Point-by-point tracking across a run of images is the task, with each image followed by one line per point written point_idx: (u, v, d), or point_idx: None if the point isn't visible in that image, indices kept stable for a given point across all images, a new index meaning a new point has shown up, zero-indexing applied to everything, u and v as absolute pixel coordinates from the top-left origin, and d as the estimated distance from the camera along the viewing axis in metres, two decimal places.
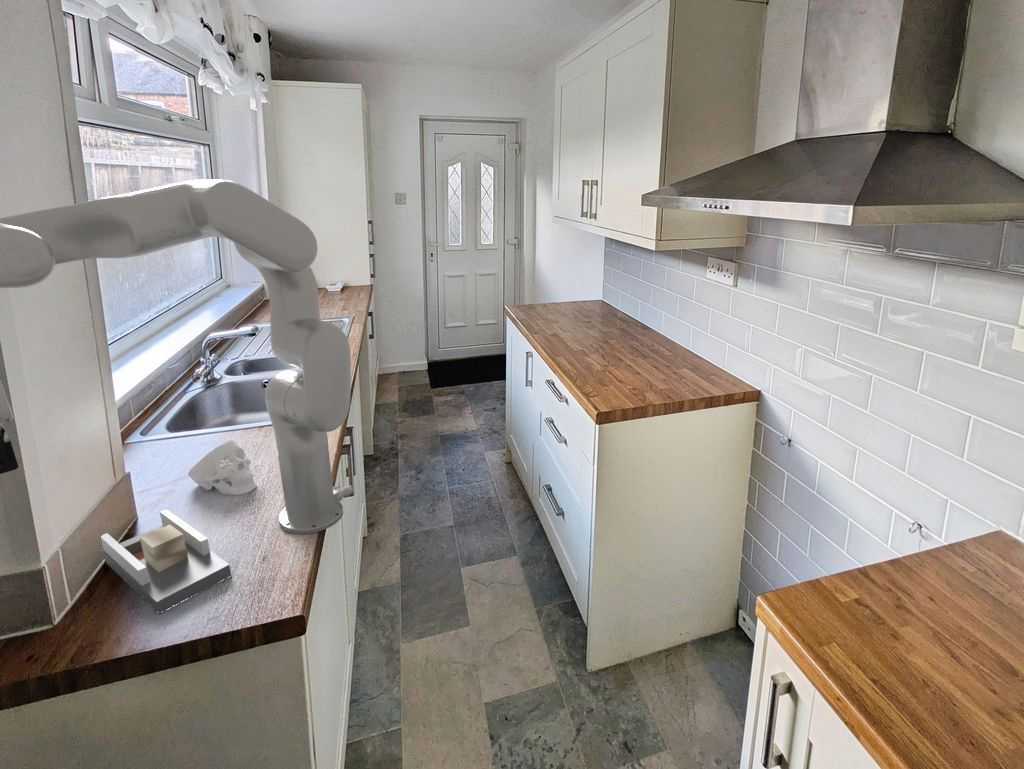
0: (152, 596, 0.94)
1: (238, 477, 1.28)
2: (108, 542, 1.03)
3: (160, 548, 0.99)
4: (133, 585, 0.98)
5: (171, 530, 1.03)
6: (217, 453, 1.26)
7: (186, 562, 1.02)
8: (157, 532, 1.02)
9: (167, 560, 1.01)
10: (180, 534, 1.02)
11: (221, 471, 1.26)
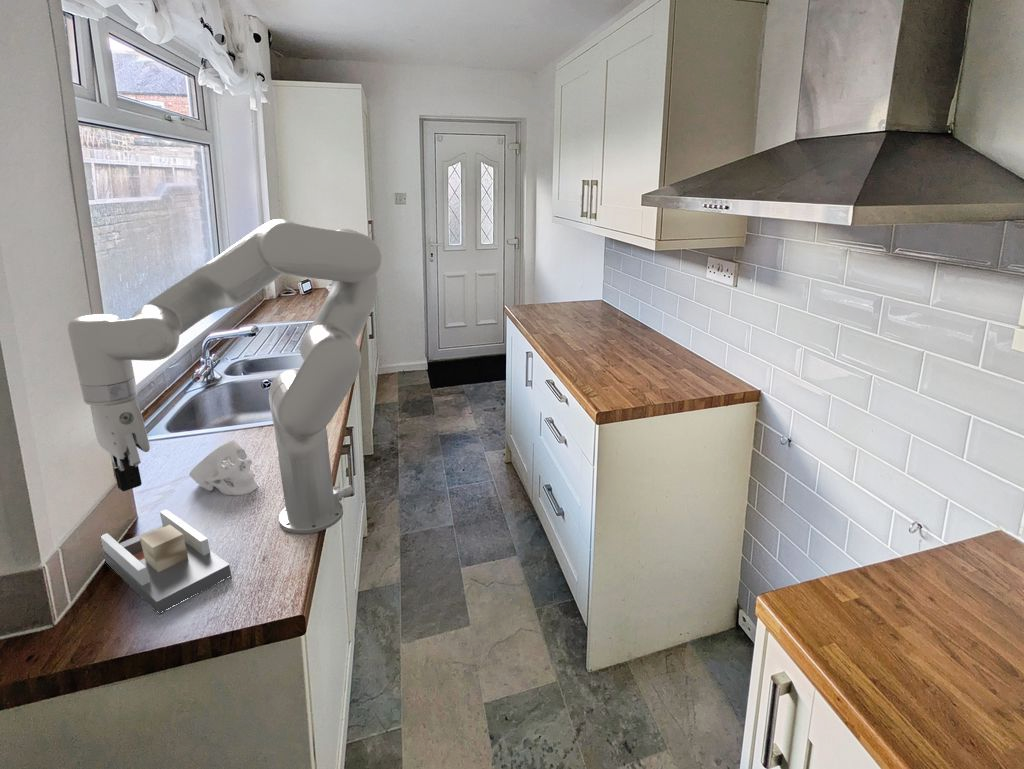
0: (152, 596, 0.94)
1: (239, 477, 1.28)
2: (108, 542, 1.03)
3: (160, 548, 0.99)
4: (133, 585, 0.98)
5: (171, 530, 1.03)
6: (218, 453, 1.26)
7: (186, 562, 1.02)
8: (157, 532, 1.02)
9: (167, 560, 1.01)
10: (180, 534, 1.02)
11: (222, 471, 1.26)
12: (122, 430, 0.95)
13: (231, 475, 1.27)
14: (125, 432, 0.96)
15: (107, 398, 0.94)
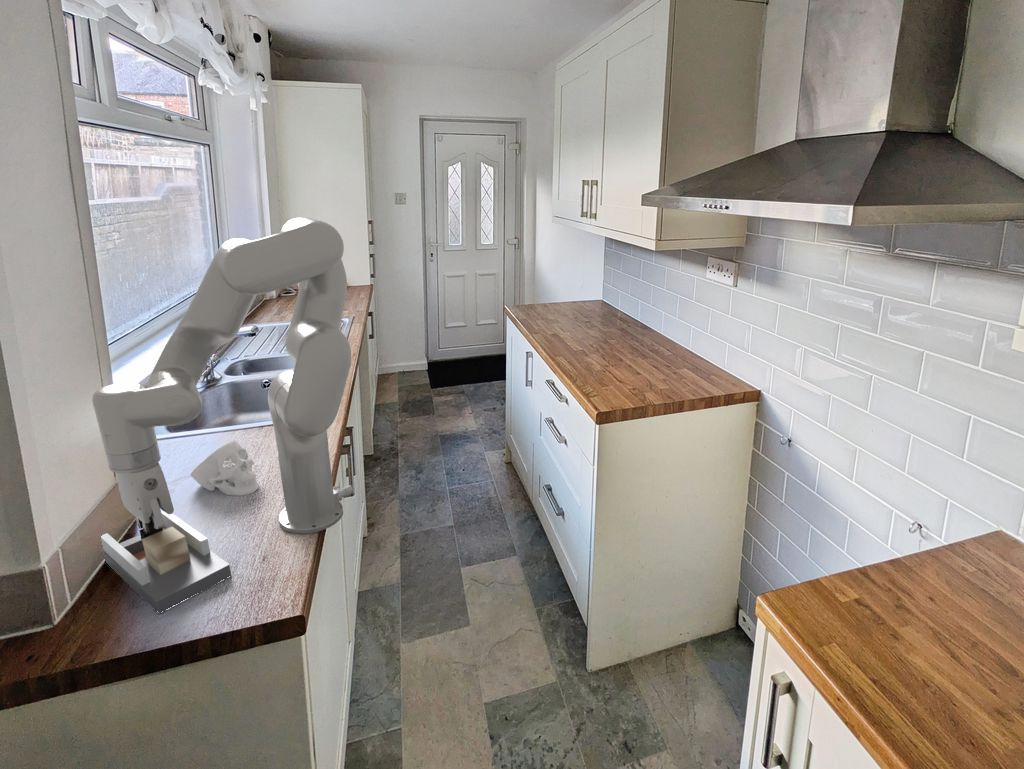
0: (152, 596, 0.94)
1: (241, 478, 1.28)
2: (108, 542, 1.03)
3: (162, 551, 0.99)
4: (133, 585, 0.98)
5: (173, 533, 1.02)
6: (220, 454, 1.26)
7: (186, 562, 1.02)
8: (159, 534, 1.02)
9: (170, 562, 1.00)
10: (182, 536, 1.01)
11: (224, 472, 1.26)
12: (147, 496, 0.97)
13: (233, 475, 1.27)
14: (150, 498, 0.98)
15: (132, 466, 0.96)
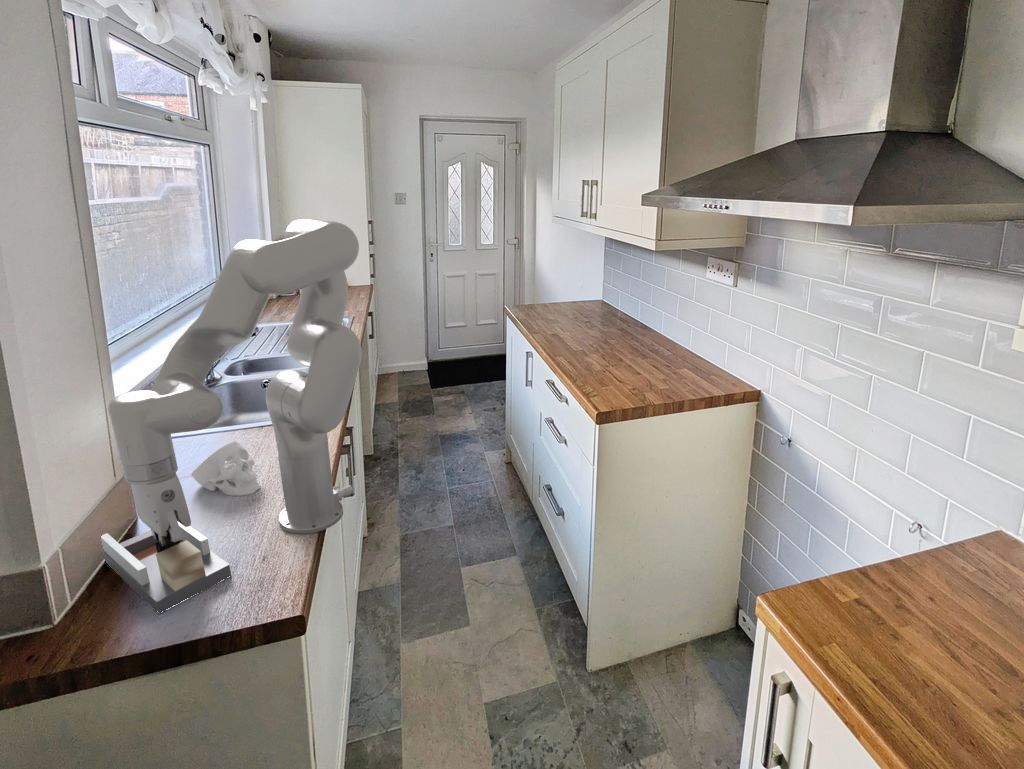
0: (152, 596, 0.94)
1: (242, 478, 1.28)
2: (108, 542, 1.03)
3: (177, 566, 0.95)
4: (133, 585, 0.98)
5: (188, 547, 0.98)
6: (221, 454, 1.26)
7: None
8: (174, 549, 0.98)
9: (184, 578, 0.96)
10: (198, 551, 0.97)
11: (225, 472, 1.26)
12: (164, 508, 0.94)
13: (233, 475, 1.27)
14: (167, 510, 0.94)
15: (149, 477, 0.92)
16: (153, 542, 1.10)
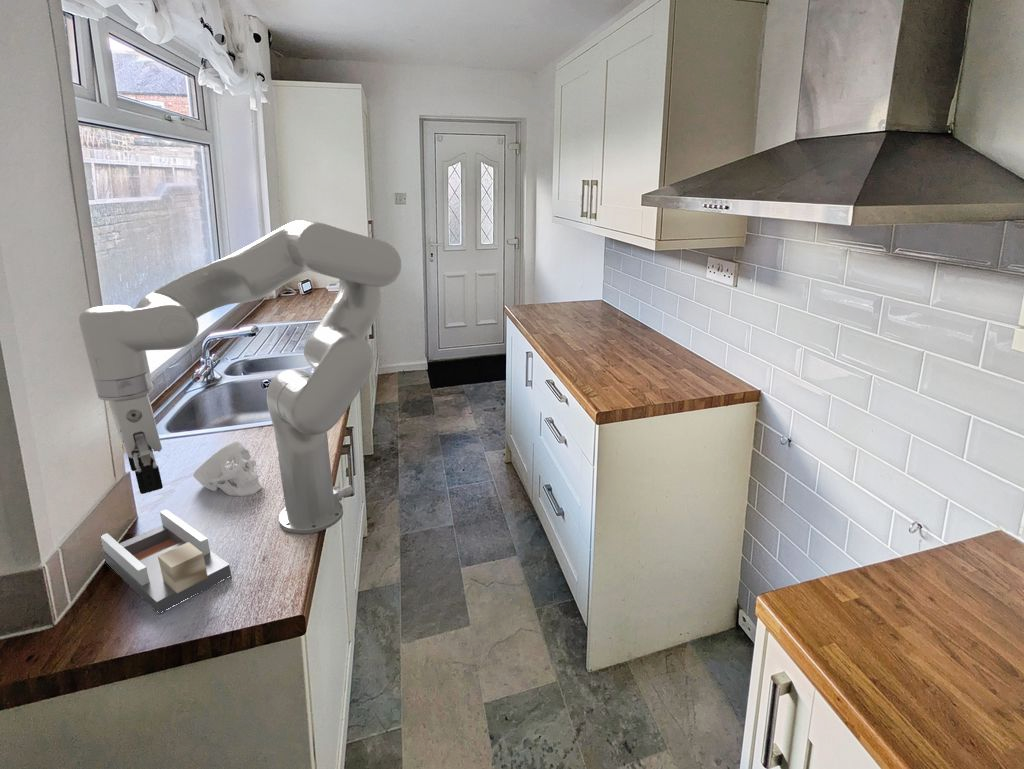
0: (152, 596, 0.94)
1: (243, 478, 1.28)
2: (108, 542, 1.03)
3: (179, 568, 0.94)
4: (133, 585, 0.98)
5: (190, 549, 0.98)
6: (222, 454, 1.26)
7: None
8: (176, 551, 0.97)
9: (186, 580, 0.96)
10: (200, 553, 0.97)
11: (226, 472, 1.26)
12: (129, 428, 0.90)
13: (235, 476, 1.27)
14: (132, 430, 0.91)
15: (115, 393, 0.89)
16: (153, 542, 1.10)
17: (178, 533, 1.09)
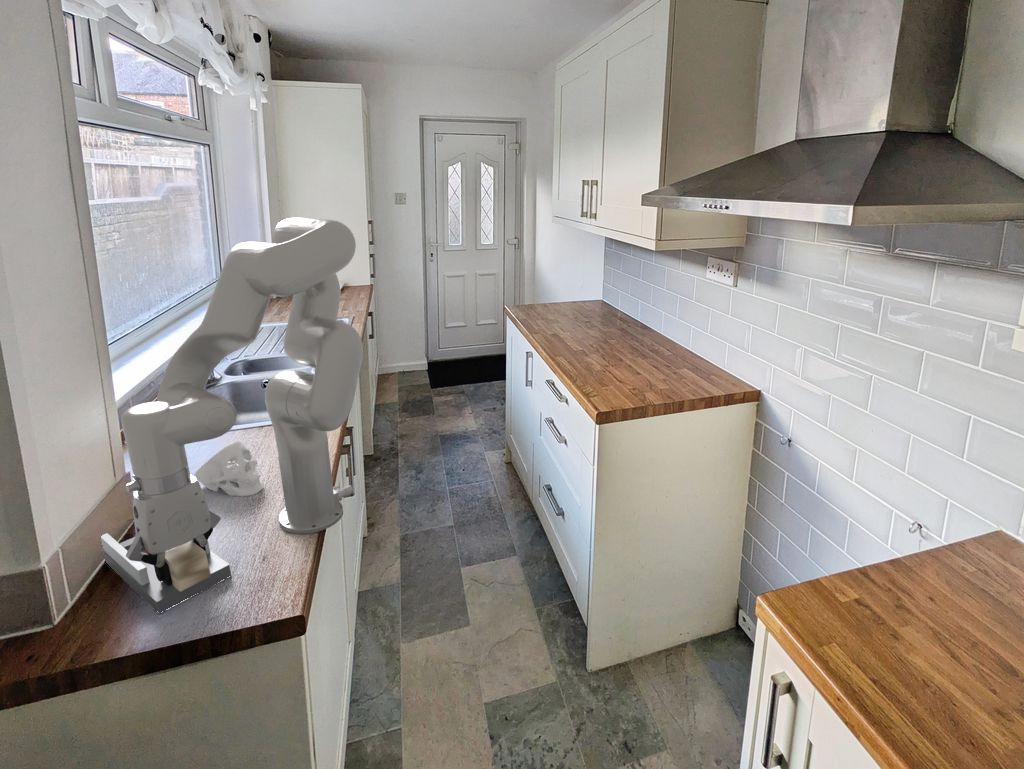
0: (152, 596, 0.94)
1: (245, 478, 1.28)
2: (108, 542, 1.03)
3: (182, 567, 0.95)
4: (133, 585, 0.98)
5: (193, 547, 0.98)
6: (224, 454, 1.26)
7: None
8: (179, 549, 0.98)
9: (189, 579, 0.96)
10: (203, 551, 0.97)
11: (228, 472, 1.26)
12: (134, 520, 0.92)
13: (236, 476, 1.27)
14: (135, 524, 0.92)
15: None
16: None
17: None
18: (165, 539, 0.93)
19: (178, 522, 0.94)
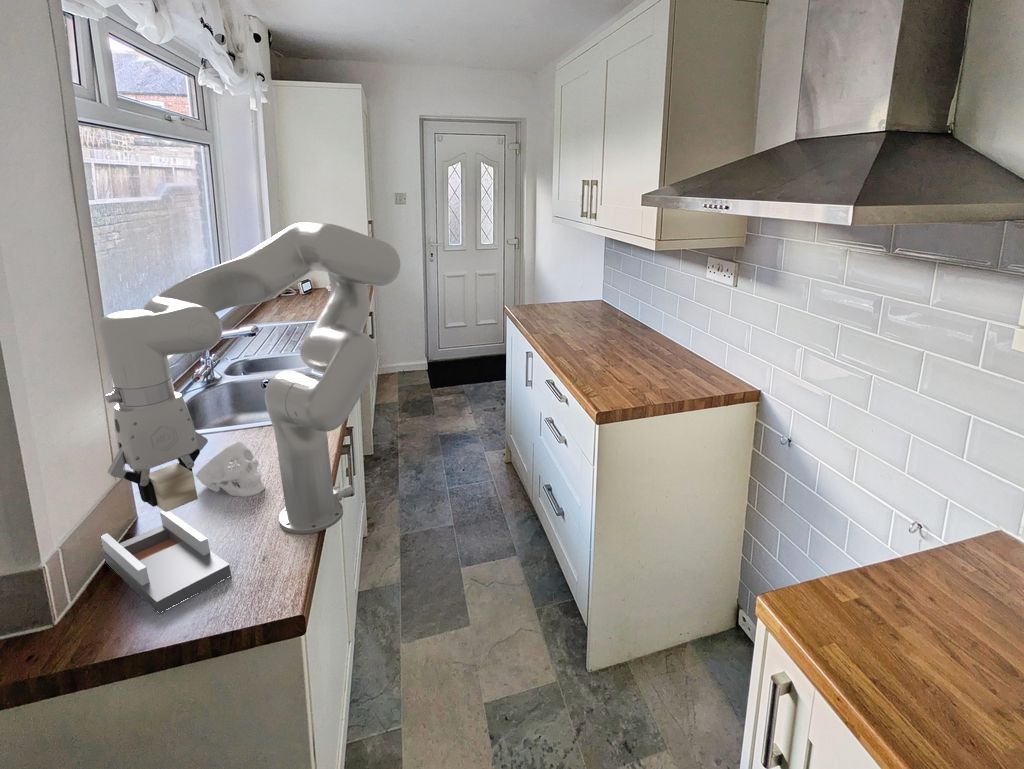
0: (152, 596, 0.94)
1: (246, 479, 1.28)
2: (108, 542, 1.03)
3: (167, 486, 0.90)
4: (133, 585, 0.98)
5: (178, 468, 0.94)
6: (225, 455, 1.26)
7: (186, 562, 1.02)
8: (164, 470, 0.93)
9: (176, 499, 0.92)
10: (189, 471, 0.93)
11: (229, 473, 1.26)
12: (116, 435, 0.88)
13: (238, 476, 1.27)
14: (117, 439, 0.88)
15: None
16: (153, 542, 1.10)
17: (178, 533, 1.09)
18: (149, 455, 0.88)
19: (162, 438, 0.90)
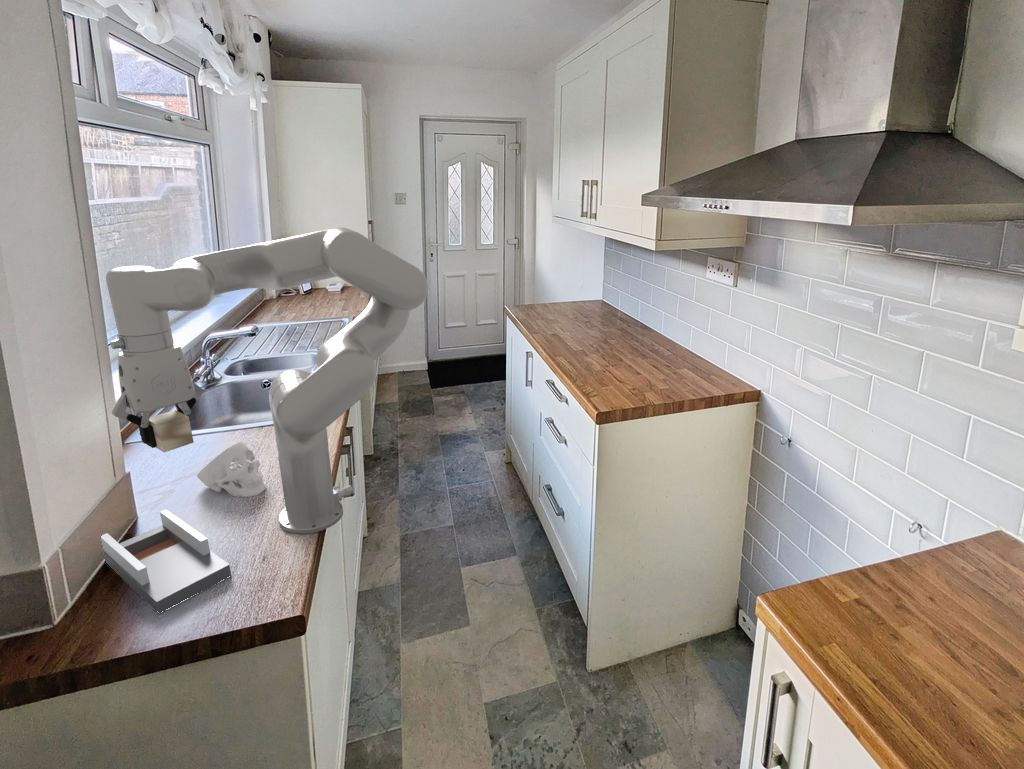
0: (152, 596, 0.94)
1: (248, 479, 1.28)
2: (108, 542, 1.03)
3: (166, 428, 0.99)
4: (133, 585, 0.98)
5: (176, 414, 1.03)
6: (227, 455, 1.26)
7: (186, 562, 1.02)
8: (163, 415, 1.02)
9: (173, 441, 1.01)
10: (186, 416, 1.02)
11: (231, 473, 1.26)
12: (120, 380, 0.96)
13: (239, 477, 1.27)
14: (121, 383, 0.96)
15: None
16: (153, 542, 1.10)
17: (178, 533, 1.09)
18: (149, 399, 0.97)
19: (162, 384, 0.98)
